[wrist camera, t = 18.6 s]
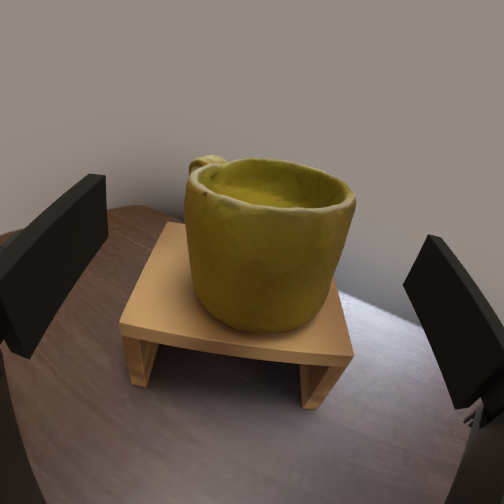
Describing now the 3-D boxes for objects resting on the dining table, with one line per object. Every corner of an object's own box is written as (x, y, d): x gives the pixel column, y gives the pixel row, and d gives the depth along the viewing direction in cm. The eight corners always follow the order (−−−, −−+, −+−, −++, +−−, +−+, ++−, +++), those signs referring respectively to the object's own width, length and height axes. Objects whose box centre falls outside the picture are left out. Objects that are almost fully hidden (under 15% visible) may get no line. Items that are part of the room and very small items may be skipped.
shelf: (304, 304, 31) (325, 247, 27) (317, 409, 21) (354, 356, 18) (166, 283, 30) (167, 221, 26) (131, 384, 20) (118, 322, 16)
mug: (384, 301, 19) (387, 150, 14) (248, 387, 16) (189, 226, 11) (283, 234, 29) (264, 127, 24) (180, 282, 26) (138, 170, 20)
